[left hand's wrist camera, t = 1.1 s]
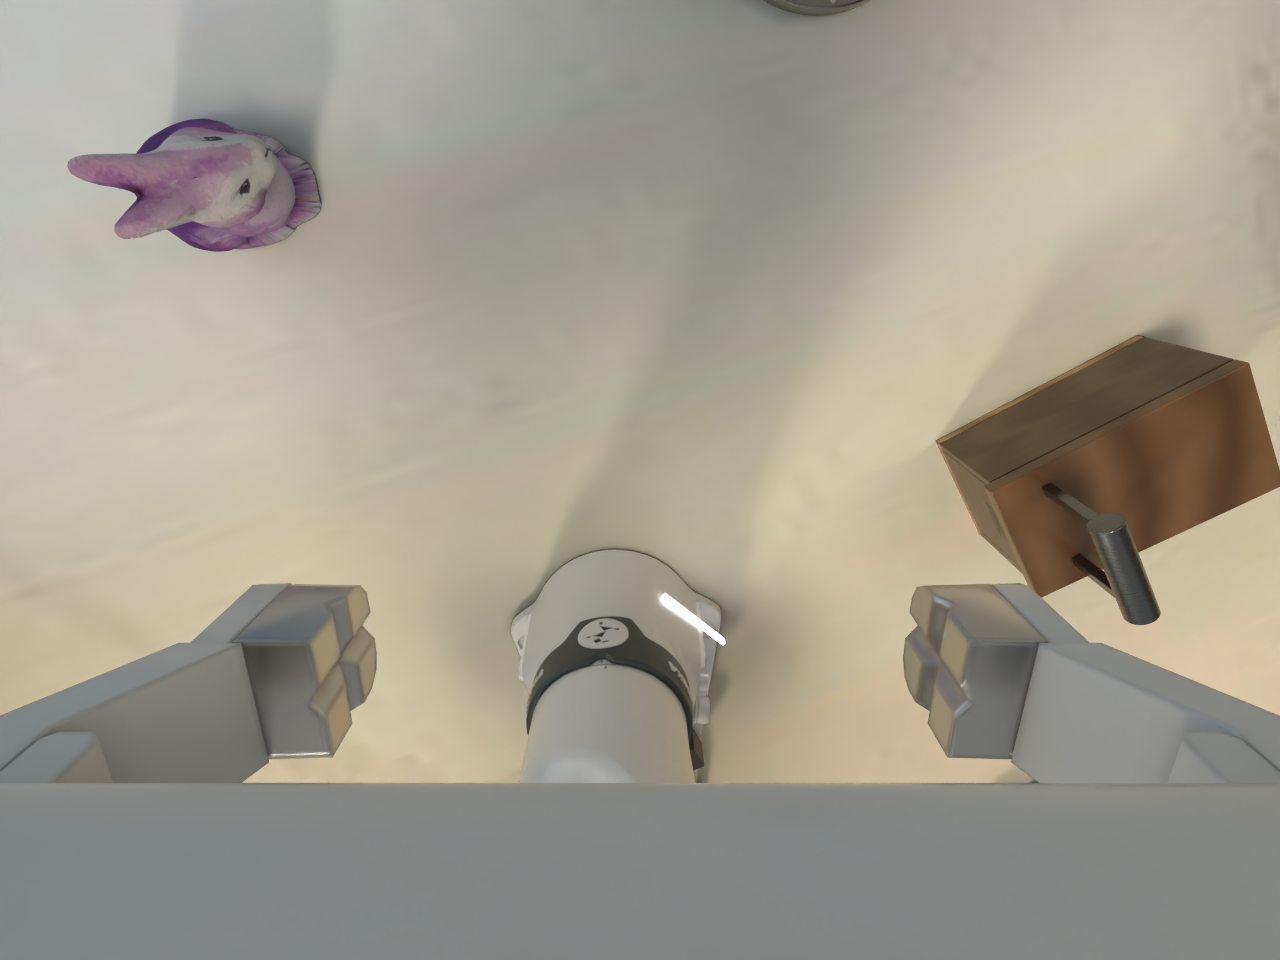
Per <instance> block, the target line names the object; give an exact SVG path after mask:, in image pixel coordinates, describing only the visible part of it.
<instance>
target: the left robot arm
mask: <svg viewBox="0 0 1280 960" xmlns="http://www.w3.org/2000/svg"><path fill="white" fill-rule="evenodd" d="M369 614H370V607H369V602H368V597H367V592H366V591H365V590H364V589H363V588H362V587H361V585H311V584H294V585H292V584H290V583H287V584H259V585H252V586H251V587H250V588H249V589H248V590H247V591H246V592H245V593H244V594H243V595H242V596H241V597H239V598H238V599H237V600H236V601H235V602H234V603H233V604H232V605H231V606H230V607H229V608H228V609H226V610H225V611H224V612H223V613H222V614H221V615H220V616H219V617H218V618H217V619H216V620H215V621H213V622H212V623H211V624H210V625H209V626H208V627H207V628H206V629H205V630H204V631H203V632H202V633H200V634H199V635H198V636H197V637H196V638H195V639H194V640H193V641H192V642H191V643H178V644H175V645H173V646H170V647H168V648H165V649H163V650H160V651H158V652H155V653H153V654H151V655H148V656H146V657H143V658H141V659H138V660H136V661H133V662H131V663H128V664H126V665H124V666H121V667H119V668H116V669H114V670H111V671H109V672H106V673H104V674H101V675H99V676H97V677H94V678H92V679H89V680H87V681H84V682H82V683H79V684H77V685H74V686H72V687H70V688H67V689H65V690H62V691H60V692H57V693H55V694H52V695H50V696H47V697H45V698H43V699H40V700H38V701H35V702H33V703H30V704H28V705H25V706H23V707H21V708H18V709H16V710H13V711H11V712H8V713H6V714H3V715H1V716H0V960H1280V716H1279V715H1276V714H1274V713H1271V712H1269V711H1266V710H1264V709H1262V708H1259V707H1257V706H1254V705H1252V704H1249V703H1247V702H1244V701H1242V700H1239V699H1237V698H1235V697H1232V696H1230V695H1227V694H1225V693H1222V692H1220V691H1217V690H1215V689H1213V688H1210V687H1208V686H1205V685H1203V684H1200V683H1198V682H1195V681H1193V680H1191V679H1188V678H1186V677H1183V676H1181V675H1178V674H1176V673H1173V672H1171V671H1169V670H1166V669H1164V668H1161V667H1159V666H1156V665H1154V664H1151V663H1149V662H1146V661H1144V660H1142V659H1139V658H1137V657H1134V656H1132V655H1129V654H1127V653H1124V652H1122V651H1120V650H1117V649H1115V648H1112V647H1110V646H1107V645H1105V644H1102V643H1089V642H1088V641H1087V640H1086V639H1085V638H1084V637H1083V636H1082V635H1081V634H1080V633H1079V632H1077V631H1076V630H1075V629H1074V628H1073V627H1072V626H1071V625H1070V624H1069V623H1068V622H1067V621H1066V620H1065V619H1063V618H1062V617H1061V616H1060V615H1059V614H1058V613H1057V612H1056V611H1055V610H1054V609H1053V608H1052V607H1050V606H1049V605H1048V604H1047V603H1046V602H1045V601H1044V600H1043V599H1042V598H1041V597H1040V596H1039V595H1038V594H1036V593H1035V592H1034V591H1033V590H1032V589H1031V588H1030V587H1029V586H1027V585H1023V584H1020V583H1015V584H992V585H991V584H973V585H932V586H920V587H916V590H915V592H914V594H913V596H912V601H911V607H910V614H911V615H912V617H913V618H914V620H915V622H916V623H917V625H918V626H917V627H916V628H915V629H914V630H913V631H912V632H911V633H910V634H909V635H908V636H907V637H906V638H905V646H904V654H903V664H904V674H905V679H906V682H907V686H908V689H909V691H910V693H911V695H912V697H913V698H914V700H915V702H916V703H918V704H919V705H921V706H923V707H924V708H926V709H927V710H929V711H930V713H929V719H928V725H929V726H930V728H931V730H932V732H933V733H934V735H935V737H936V738H937V740H938V742H939V744H940V745H941V747H942V749H943V750H944V752H945V754H946V756H947V757H951V758H988V759H1011V762H1012V763H1013V764H1014V765H1016V766H1017V767H1018V768H1020V769H1021V770H1022V771H1024V772H1025V773H1026V774H1028V775H1029V776H1030V777H1032V778H1033V779H1034V780H1036V781H1037V782H1038V783H696V781H695V777H694V772H693V770H696V769H698V768H701V767H703V766H704V759H703V751H702V743H701V741H700V739H699V738H700V735H701V731H702V725H703V724H708V723H709V719H710V699H709V698H708V692H709V686H710V680H711V675H712V669H713V663H714V658H715V652H716V647H717V641H718V642H719V643H720V644H722V645H724V644H725V639H724V638H723V637H722V636H721V635H720V634H719V630H720V624H721V609H720V607H719V606H718V605H717V604H716V603H714V602H713V601H711V600H710V599H708V598H706V597H704V596H702V595H699V594H697V593H695V592H694V591H692V590H691V589H690V588H689V587H688V586H687V585H686V584H685V583H684V581H683V580H682V579H681V578H680V577H679V576H678V575H677V574H676V573H675V572H674V571H673V570H672V569H671V568H669V567H668V566H667V565H665V564H664V563H662V562H660V561H659V560H657V559H655V558H652V557H650V556H648V555H645V554H642V553H638V552H634V551H628V550H602V551H596V552H592V553H588V554H585V555H582V556H580V557H578V558H575V559H573V560H572V561H570V562H568V563H567V564H565V565H564V566H562V567H561V568H560V569H559V570H557V571H556V572H555V573H554V574H553V575H552V576H551V578H550V579H549V580H548V581H547V583H546V584H545V586H544V588H543V589H542V591H541V593H540V595H539V596H538V598H537V599H536V601H535V602H534V603H533V604H532V605H531V606H529V607H528V608H526V609H525V610H524V611H522V612H521V613H520V614H518V615H517V616H516V617H515V618H514V620H513V621H512V625H511V635H512V638H513V640H514V643H515V645H516V648H517V650H518V652H519V655H520V657H521V660H520V666H519V679H520V680H522V681H524V684H525V687H526V690H527V692H528V694H529V698H528V703H527V733H528V740H527V744H526V749H525V754H524V758H523V763H522V768H521V773H520V777H519V782H518V783H242V782H243V781H244V780H246V779H247V778H248V777H250V776H251V775H252V774H254V773H255V772H256V771H258V770H259V769H261V768H262V767H263V766H265V765H266V764H267V763H269V759H291V758H327V757H333V756H334V754H335V752H336V751H337V749H338V747H339V745H340V744H341V742H342V740H343V739H344V737H345V735H346V733H347V732H348V730H349V728H350V726H351V725H352V719H351V713H350V711H351V710H353V709H354V708H356V707H357V706H359V705H361V704H362V703H364V702H365V700H366V698H367V697H368V695H369V693H370V691H371V689H372V686H373V682H374V678H375V673H376V667H377V652H376V645H375V638H374V637H373V636H372V635H371V634H370V633H369V632H368V631H367V630H366V629H365V628H364V627H363V626H362V625H363V623H364V622H365V620H366V618H367V617H368V615H369ZM708 625H709V626H710V627H709V626H708Z"/></svg>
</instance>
